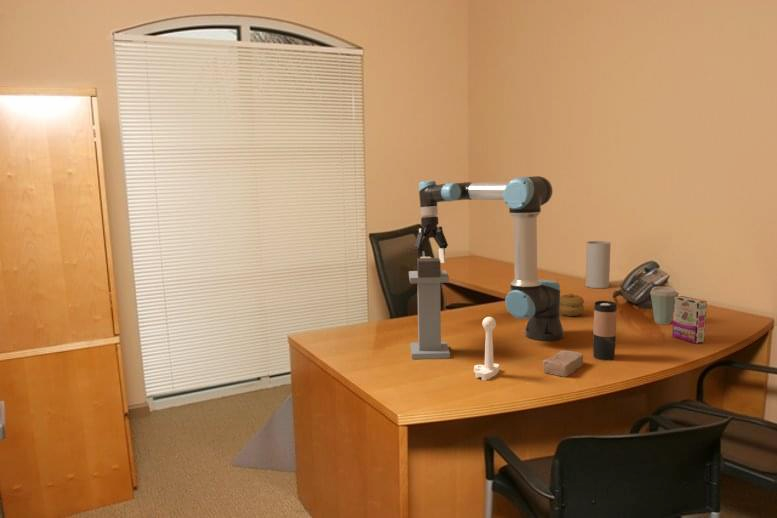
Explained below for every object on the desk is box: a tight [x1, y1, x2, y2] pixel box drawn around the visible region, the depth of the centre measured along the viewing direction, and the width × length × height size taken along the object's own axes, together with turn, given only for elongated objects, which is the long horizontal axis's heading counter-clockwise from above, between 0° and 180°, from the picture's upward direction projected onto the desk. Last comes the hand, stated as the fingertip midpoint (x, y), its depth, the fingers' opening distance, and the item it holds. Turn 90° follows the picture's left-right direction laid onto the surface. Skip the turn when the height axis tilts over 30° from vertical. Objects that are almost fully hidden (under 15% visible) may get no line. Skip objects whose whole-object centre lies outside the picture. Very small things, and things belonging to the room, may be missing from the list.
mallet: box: [416, 256, 441, 278], centre depth 223 cm, size 23×8×6 cm, turn 0°
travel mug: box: [592, 300, 618, 361], centre depth 211 cm, size 8×8×20 cm
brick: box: [542, 349, 584, 378], centre depth 202 cm, size 16×8×5 cm, turn 141°
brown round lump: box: [559, 293, 585, 317], centre depth 271 cm, size 12×12×10 cm
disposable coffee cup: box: [649, 285, 678, 325], centre depth 254 cm, size 11×11×15 cm
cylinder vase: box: [585, 240, 611, 290], centre depth 329 cm, size 12×12×25 cm
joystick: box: [473, 316, 500, 381], centre depth 197 cm, size 11×8×20 cm
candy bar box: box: [671, 295, 708, 345], centre depth 229 cm, size 11×5×16 cm, turn 23°
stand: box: [408, 269, 451, 360], centre depth 221 cm, size 16×14×30 cm
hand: (432, 264), depth 260 cm, fingers open, 13 cm apart
